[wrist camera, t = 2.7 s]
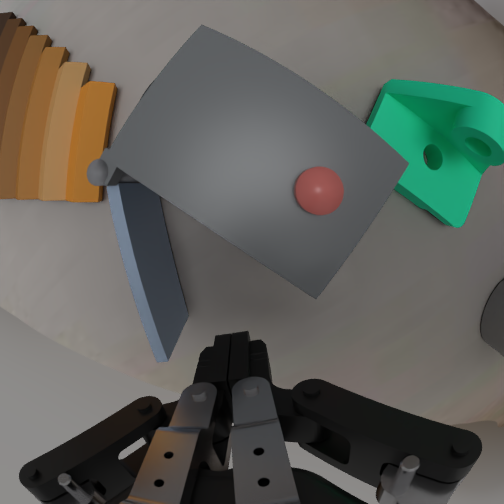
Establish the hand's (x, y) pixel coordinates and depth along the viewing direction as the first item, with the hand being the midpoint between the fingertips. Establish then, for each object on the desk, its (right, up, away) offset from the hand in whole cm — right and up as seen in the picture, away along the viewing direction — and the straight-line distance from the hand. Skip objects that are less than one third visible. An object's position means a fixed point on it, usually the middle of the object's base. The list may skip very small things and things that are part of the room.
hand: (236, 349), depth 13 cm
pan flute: (-22, +23, +7) cm, 32 cm away
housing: (0, +11, +9) cm, 14 cm away
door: (-6, +5, +9) cm, 12 cm away
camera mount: (+15, +13, +9) cm, 22 cm away
